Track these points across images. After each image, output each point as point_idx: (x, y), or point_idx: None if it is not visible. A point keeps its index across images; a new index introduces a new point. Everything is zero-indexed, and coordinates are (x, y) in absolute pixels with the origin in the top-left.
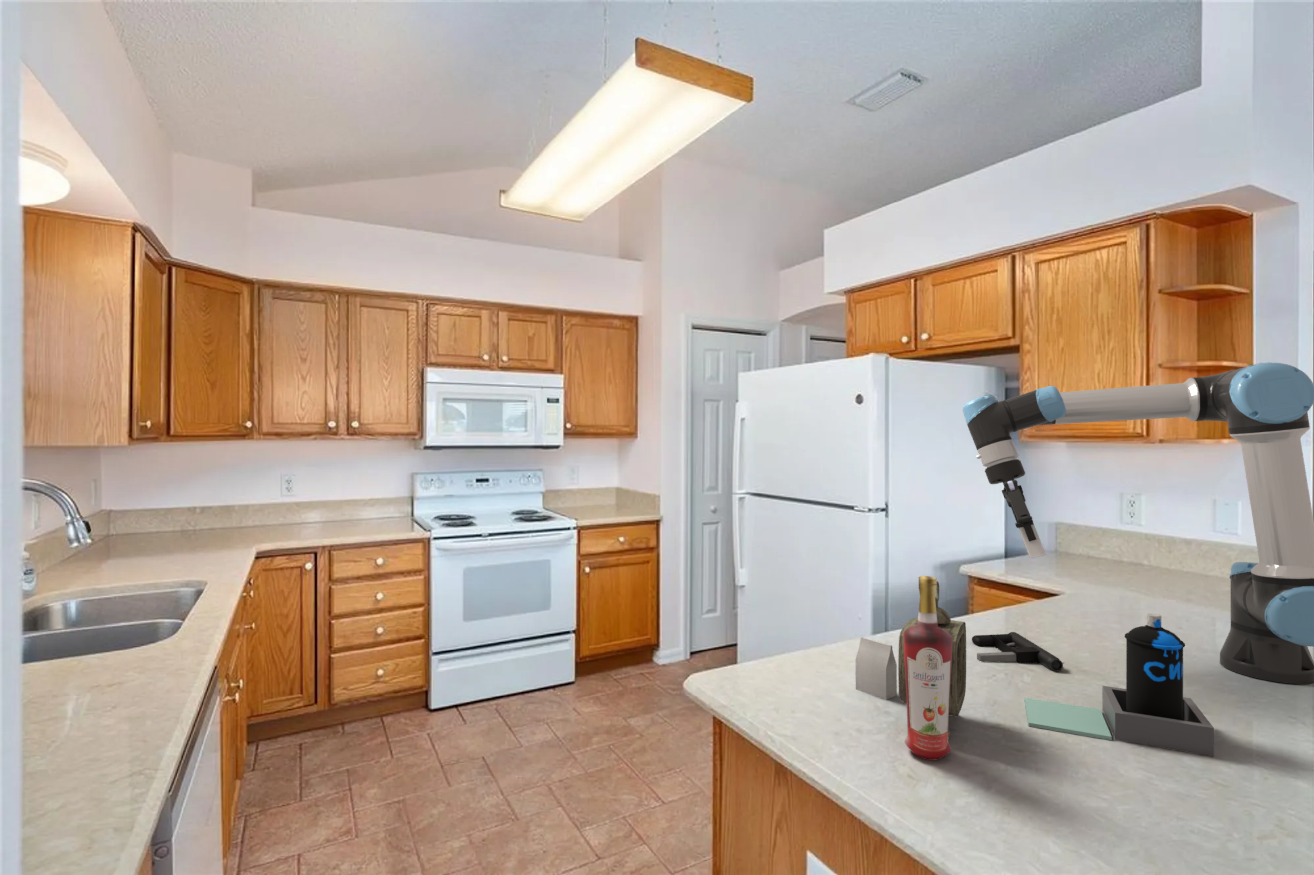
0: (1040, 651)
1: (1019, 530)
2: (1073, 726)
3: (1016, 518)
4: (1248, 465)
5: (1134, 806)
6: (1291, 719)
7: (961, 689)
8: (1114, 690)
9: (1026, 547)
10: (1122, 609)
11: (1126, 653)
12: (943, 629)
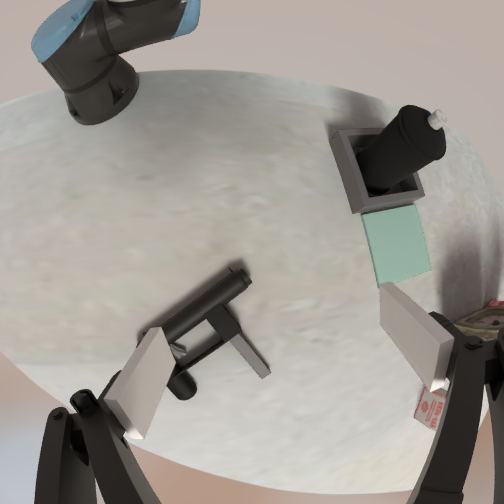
0: (220, 302)
1: (145, 435)
2: (416, 234)
3: (144, 478)
4: None
5: (476, 195)
6: (249, 77)
7: (466, 321)
8: (367, 195)
9: (166, 383)
10: None
11: (420, 166)
12: None
